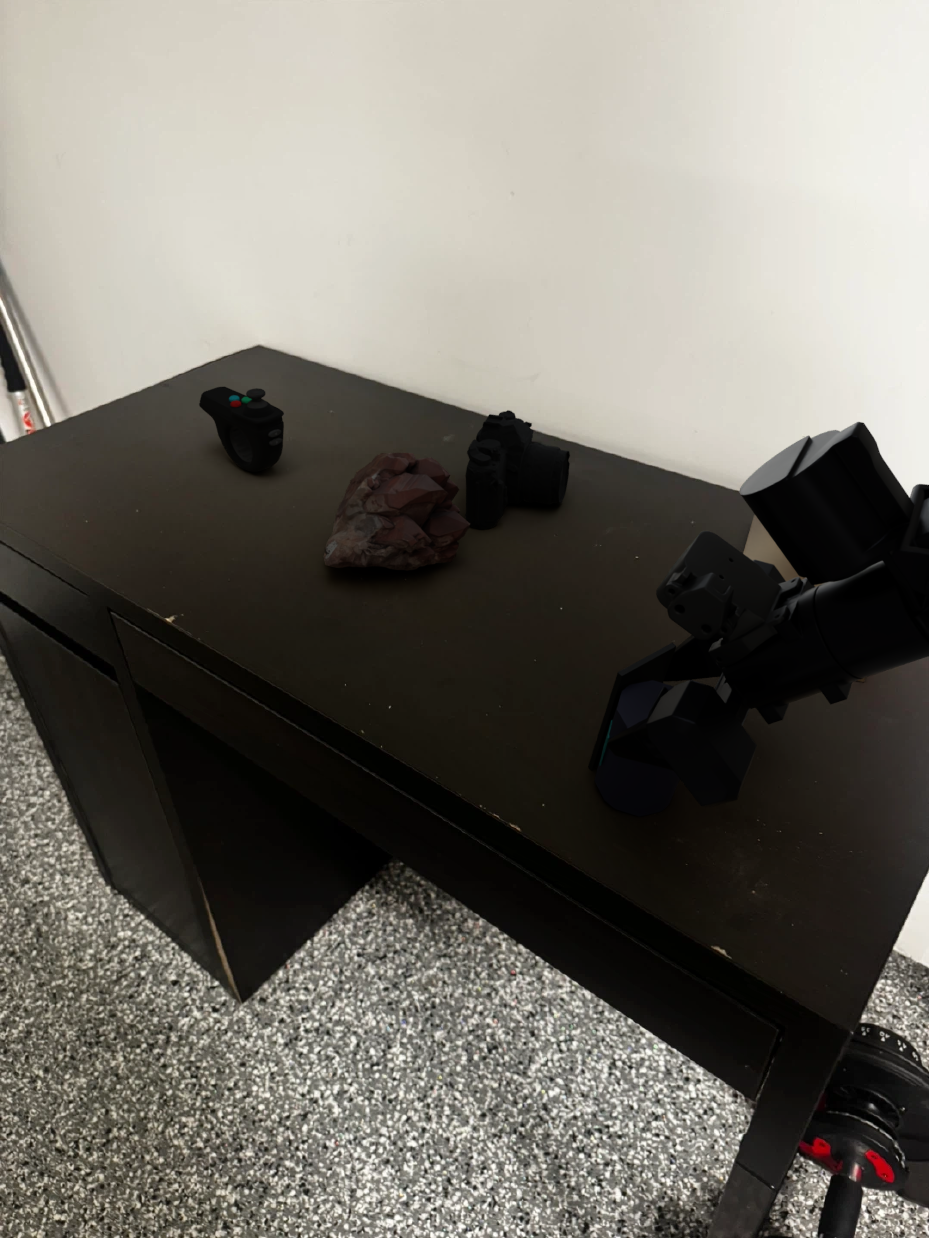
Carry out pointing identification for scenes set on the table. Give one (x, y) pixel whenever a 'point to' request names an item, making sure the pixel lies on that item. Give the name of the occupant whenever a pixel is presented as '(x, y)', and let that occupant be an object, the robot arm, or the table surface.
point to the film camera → (511, 470)
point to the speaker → (628, 704)
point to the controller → (246, 426)
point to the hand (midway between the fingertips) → (633, 709)
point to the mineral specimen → (397, 516)
